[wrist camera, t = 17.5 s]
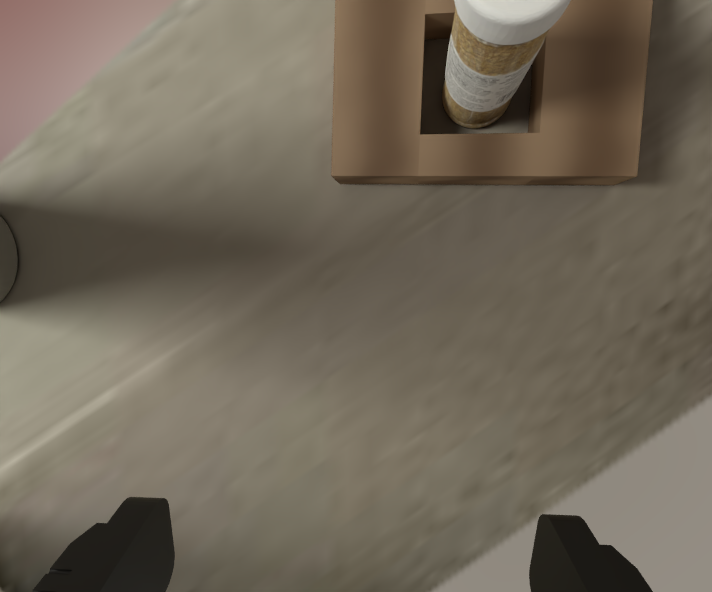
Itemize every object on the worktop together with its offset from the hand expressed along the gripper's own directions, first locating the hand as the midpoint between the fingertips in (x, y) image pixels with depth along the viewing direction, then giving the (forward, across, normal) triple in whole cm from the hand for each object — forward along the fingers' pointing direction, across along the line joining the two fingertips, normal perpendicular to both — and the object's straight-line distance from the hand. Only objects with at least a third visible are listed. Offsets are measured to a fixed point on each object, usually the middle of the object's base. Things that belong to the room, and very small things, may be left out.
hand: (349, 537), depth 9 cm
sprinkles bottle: (+24, -7, -13) cm, 28 cm away
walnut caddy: (+24, -7, -13) cm, 28 cm away
